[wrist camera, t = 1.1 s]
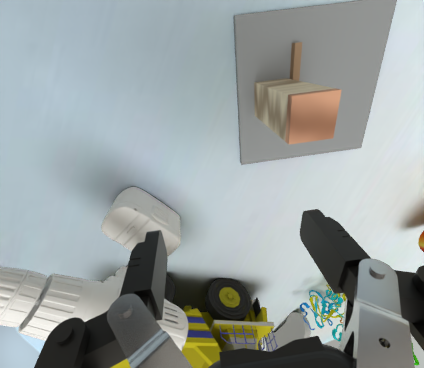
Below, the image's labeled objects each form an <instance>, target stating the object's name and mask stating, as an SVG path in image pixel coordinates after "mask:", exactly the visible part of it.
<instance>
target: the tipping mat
mask: <svg viewBox="0 0 424 368" xmlns="http://www.w3.org/2000/svg"><path fill="white" fill-rule="evenodd" d="M396 2H397V0H360V1H352V2H343V3H335V4H326V5H318V6H309V7H301V8H292V9H284V10H275V11H267V12H258V13H250V14H241V15H235V16H234V33H235V54H236V76H237V97H238V119H239V141H240V162H241V164H242V165H243V164H251V163H258V162H265V161H272V160H279V159H286V158H293V157H300V156H307V155H314V154H322V153H329V152H336V151H343V150H350V149H357V148H361V146H362V142H363V138H364V134H365V130H366V125H367V121H368V117H369V113H370V109H371V105H372V101H373V97H374V93H375V88H376V84H377V80H378V76H379V72H380V68H381V64H382V60H383V56H384V51H385V47H386V43H387V39H388V35H389V31H390V27H391V23H392V18H393V14H394V10H395V6H396ZM285 78H287V79H292V80H297V81H302V82H307V83H312V84H317V85H321V86H326V87H331V88H336V89H341V90H342V91H341V96H340V102H339V108H338V114H337V120H336V125H335V131H334V137H333V139H325V140H318V141H311V142H304V143H297V144H287V143H286V142H285V141H284V140H283V139H282V138H280V137H279V136H278V135H277V134H276V133H274V132H273V131H272V130H271V129H270V128H269V127H267V126H266V125H265V124H264V123H263V122H262V121H260V120H259V119H258V118H257V117H256V116H255V98H254V82H262V81H270V80H277V79H285Z"/></svg>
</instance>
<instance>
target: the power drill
mask: <svg viewBox="0 0 424 368" xmlns="http://www.w3.org/2000/svg"><path fill="white" fill-rule="evenodd" d="M101 229H102V232H103V233H104V234H105V235H106V236H108V237H109V238H110V239H112V240H113V241H116V242H118V243H120V244H121V245H123V247H125V248H127V249H129V250H131V251H132V250H133V248H134V247H135V246H136V244H137V243H140V242H144V241H145V237H146V233H147V232H149V231H157V230H161V231H162V235H163V238H164V242H165V246H166V250H167V257H168V256H169V255H170V254H171V253H172V252H174V251H175V250H176V249H177V247H178V246H179V245H180V241H181V235H180V216H179V215H178V214H177V213H176V212H174V211H173V210H172V209H170V208H169V207H168V206H166V205H165V204H163V203H162V202H160V201H159V200H157V199H156V198H154V197H153V196H151V195H150V194H148V193H147V192H145V191H143V190H142V189H140V188H137V187H129V188H127V189H125V190H124V191H122V192H121V193H120V194H119V195H118V196H117V197H116V199H115V201H114V203H113V204H112V206H111V208H110V210H109V211H108V213H107V215H106V217H105V219H104V221H103V223H102V227H101ZM127 268H128V265H127V266H126V267H123V266H122V267H121V268H120V269H119V270H117V271H116V273H115V276H109V277H108V278H107V279H106V280H105V281H91V280H86V279H81V278H75V277H70V276H64V275H58V274H51V275H50V276H49V277H48V278H47V276H45V275H43V274H39V273H36V272H33V271H29V270H24V269H17V268H10V267H0V325H4V326H10V327H18V326H19V325H20V326H19V333H21V334H24V335H28V336H31V337H34V338H38V339H41V340H44V341H46V339H47V337H48V336H49V334H50V333H51V332H52V330H53V329H54V328H55V327H56V326H57V325H59V324H60V323H61V322H63V321H65V320H67V319H69V318H74V317H77V318H81V319H82V320H83V321H84V322H85V321H88V320H90V319H92V318H94V317H96V316H99V315H101V314H103V313H105V312H106V311H108V309H109V307H110V306H111V304H112V303H113V302H114V301H115V300H116V299H117V298H119V296H120V293H121V289H122V285H123V282H124V278H125V274H126V271H127ZM157 323H158V324H159V325H160V327H161V328H162V330H163V331H166V332H167V333H168V334H169V335H170V337H171V338H172V339H173V341H174V342H175V344H176V345H177V346H178V348H179V349H180V350H181V351H182V349H183V347H184V344H185V342H186V338H187V334H188V320H187V316H186V314H185V313H184V311H183V310H182V309H180V308H179V307H178V306H176V305H174V304H172V303H171V302H169V301H167V300H166V299H165V298H164V306H163V318H162V320H158V321H157Z"/></svg>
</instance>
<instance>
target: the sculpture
mask: <svg viewBox="0 0 424 368" xmlns="http://www.w3.org/2000/svg"><path fill="white" fill-rule="evenodd" d="M419 247H420V249H421V250H422V251H423V252H424V231H423V232H422V234H421V235H420V238H419Z"/></svg>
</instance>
